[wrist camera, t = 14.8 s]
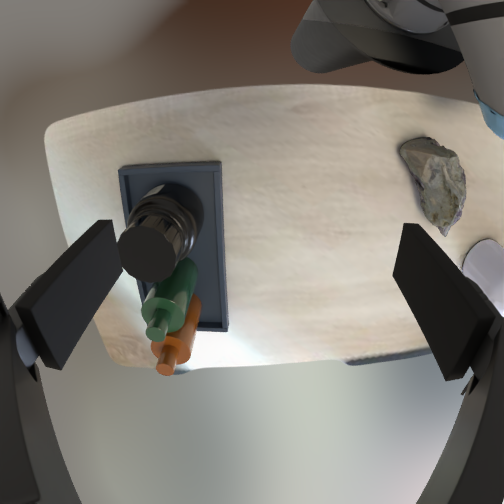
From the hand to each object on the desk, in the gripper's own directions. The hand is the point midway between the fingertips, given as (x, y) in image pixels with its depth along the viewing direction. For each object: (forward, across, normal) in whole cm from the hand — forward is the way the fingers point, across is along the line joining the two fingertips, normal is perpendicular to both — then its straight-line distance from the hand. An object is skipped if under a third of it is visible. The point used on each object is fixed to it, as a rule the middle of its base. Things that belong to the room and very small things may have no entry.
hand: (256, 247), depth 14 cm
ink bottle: (+27, -12, -9) cm, 31 cm away
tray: (+28, -12, -16) cm, 34 cm away
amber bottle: (+27, -12, -25) cm, 39 cm away
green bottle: (+27, -12, -18) cm, 35 cm away
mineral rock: (+28, +23, -4) cm, 37 cm away
